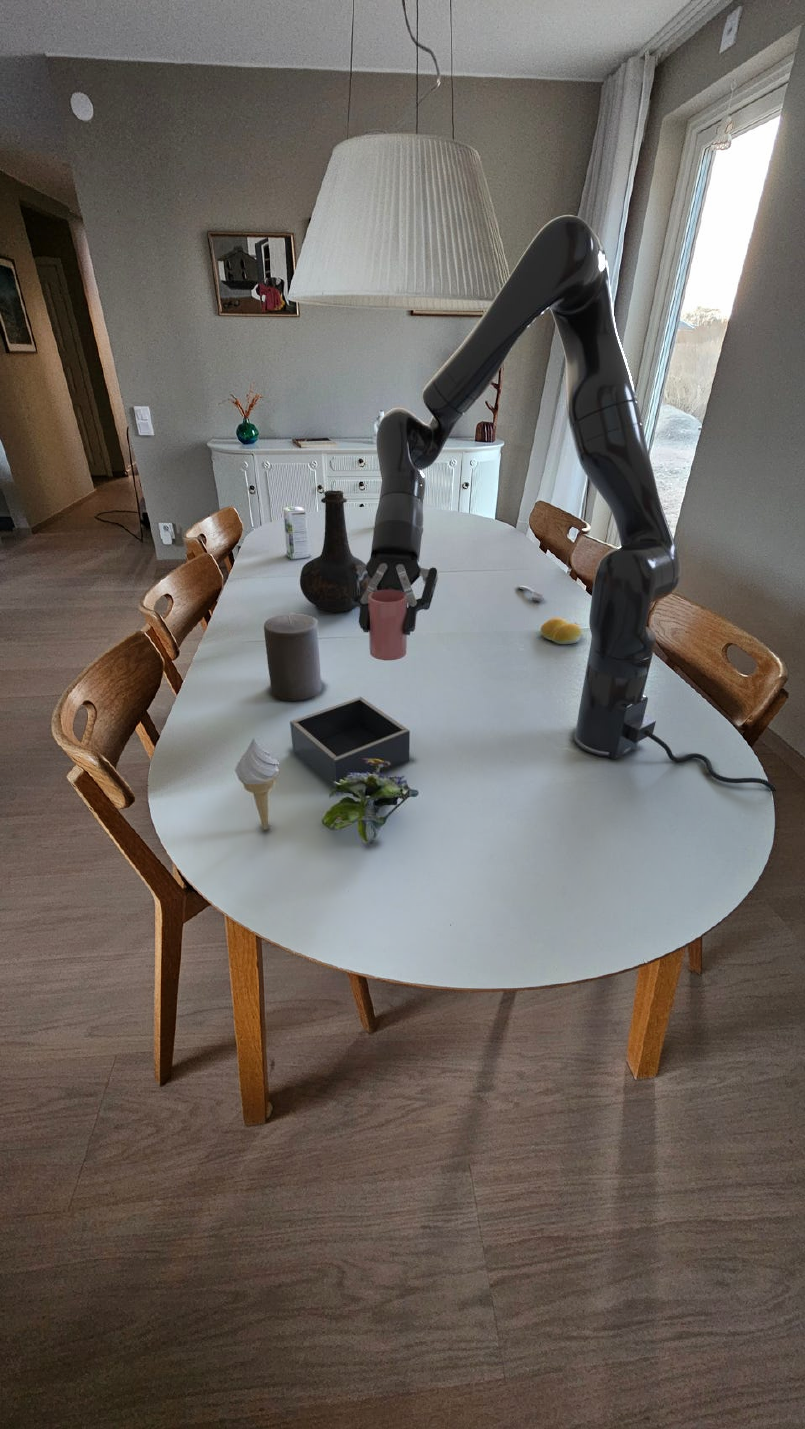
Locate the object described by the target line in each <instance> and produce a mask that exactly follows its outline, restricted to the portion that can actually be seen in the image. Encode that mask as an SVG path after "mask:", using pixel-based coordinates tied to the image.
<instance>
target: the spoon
mask: <svg viewBox="0 0 805 1429" xmlns="http://www.w3.org/2000/svg"><path fill="white" fill-rule="evenodd" d="M517 589H519V590H524V591H527V592H529V593H530V594H531V596H530V597H531V599H532V600H533V601H535V602H542V601H543V600H544V599H545V596H544V595H543V594H540V593H537V592H536V591H535V590H534V589H533V588H531V587H529V586H527V585H518V586H517Z"/></svg>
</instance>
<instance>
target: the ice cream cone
mask: <svg viewBox="0 0 805 1429" xmlns="http://www.w3.org/2000/svg"><path fill="white" fill-rule="evenodd" d="M278 765H280V762H279V761H278V759H277V758H271V753H270V752H268V750H267V749H265V748H263V747H262V745H261V744H259V742H258V741H257V740H256V739H255V738H254V737H252V739H251V741H250V743H249V746H248V747H247V749H246V750H245V752H244V754H243V755H242V756H241V758H240V759H239V761H238V762H237V764H236V766H235V768H234V772H235V774H236V776H237V779H238V781H239V782H240V783H241V784H242V785H243V788H244V789H245V791H246V792H249V793H251V794H253V798H254V801H255V806H256V809H257V812H258V816H259V818H260V822H261V827H262V829H263V830H265V831H266V830H268V829H269V803H270V802H269V799H270V798H269V791H270V790H272V789H273V788H274V787H275V785H276V778H277V777H278V776H279V771H280V769H279V767H278Z"/></svg>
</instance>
